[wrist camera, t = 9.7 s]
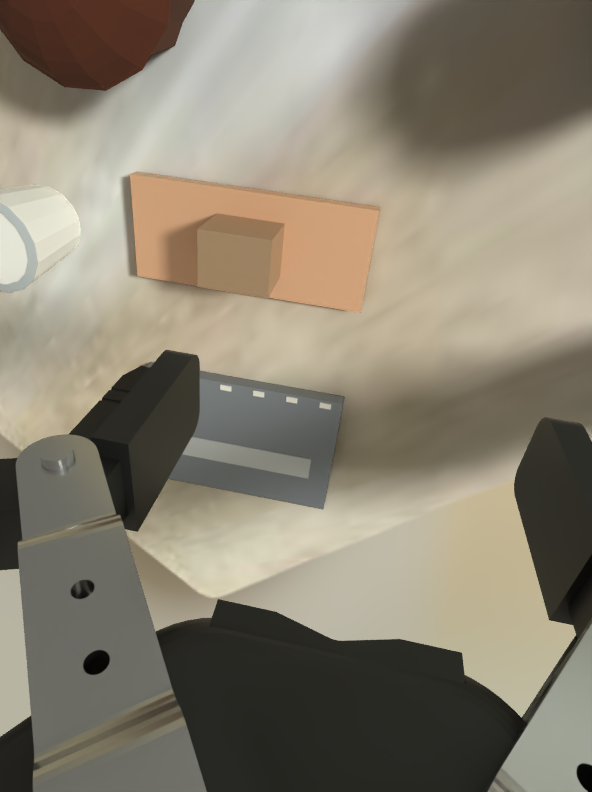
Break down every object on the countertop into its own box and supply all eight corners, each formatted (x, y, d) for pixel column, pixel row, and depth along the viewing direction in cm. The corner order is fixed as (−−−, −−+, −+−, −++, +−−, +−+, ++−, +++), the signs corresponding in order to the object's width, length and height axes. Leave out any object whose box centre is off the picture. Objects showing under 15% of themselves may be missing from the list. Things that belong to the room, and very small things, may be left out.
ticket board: (344, 396, 45) (343, 404, 44) (324, 501, 52) (323, 510, 51) (150, 362, 46) (144, 369, 45) (157, 468, 53) (152, 476, 52)
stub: (380, 207, 36) (377, 227, 31) (361, 306, 40) (356, 337, 35) (137, 171, 37) (99, 185, 32) (143, 271, 41) (111, 296, 37)
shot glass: (49, 159, 38) (-14, 174, 32) (105, 242, 41) (56, 270, 35) (-10, 200, 40) (-79, 221, 35) (46, 276, 43) (-8, 307, 37)
